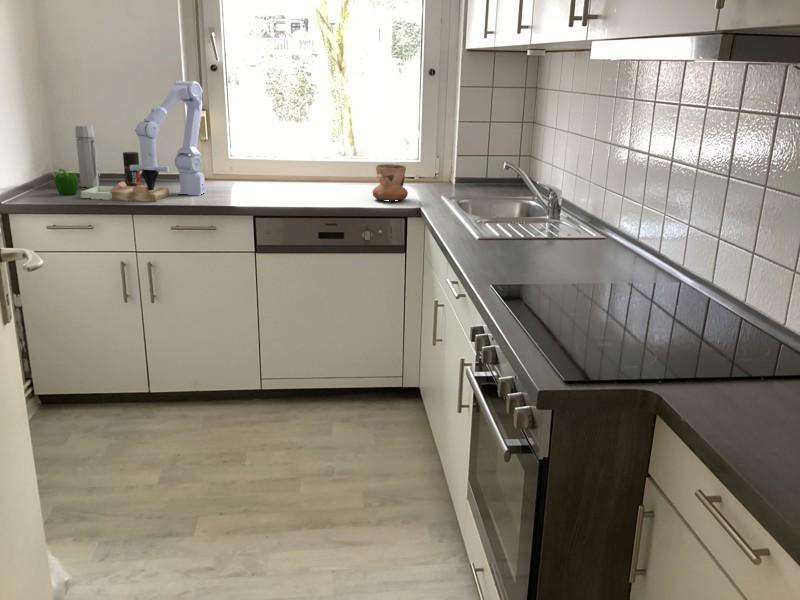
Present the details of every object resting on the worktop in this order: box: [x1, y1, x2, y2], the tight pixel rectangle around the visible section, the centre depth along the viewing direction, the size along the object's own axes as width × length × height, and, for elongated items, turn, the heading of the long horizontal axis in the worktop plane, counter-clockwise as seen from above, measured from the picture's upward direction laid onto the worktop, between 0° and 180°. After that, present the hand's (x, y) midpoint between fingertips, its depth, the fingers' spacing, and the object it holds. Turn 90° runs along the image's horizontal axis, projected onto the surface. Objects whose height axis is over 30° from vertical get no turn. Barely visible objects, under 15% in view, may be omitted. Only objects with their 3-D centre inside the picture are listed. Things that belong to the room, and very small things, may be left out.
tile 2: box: [133, 184, 151, 193], centre depth 274 cm, size 5×5×2 cm
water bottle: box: [74, 124, 101, 189], centre depth 293 cm, size 9×8×25 cm
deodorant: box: [122, 151, 142, 187], centre depth 293 cm, size 6×6×15 cm
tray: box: [79, 185, 114, 201], centre depth 279 cm, size 12×15×2 cm
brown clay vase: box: [372, 163, 409, 201], centre depth 291 cm, size 18×14×14 cm
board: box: [111, 186, 170, 203], centre depth 278 cm, size 17×14×3 cm
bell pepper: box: [54, 168, 80, 196], centre depth 278 cm, size 8×8×10 cm
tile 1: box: [110, 180, 127, 193], centre depth 281 cm, size 5×5×2 cm
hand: (151, 190), depth 274 cm, fingers closed
